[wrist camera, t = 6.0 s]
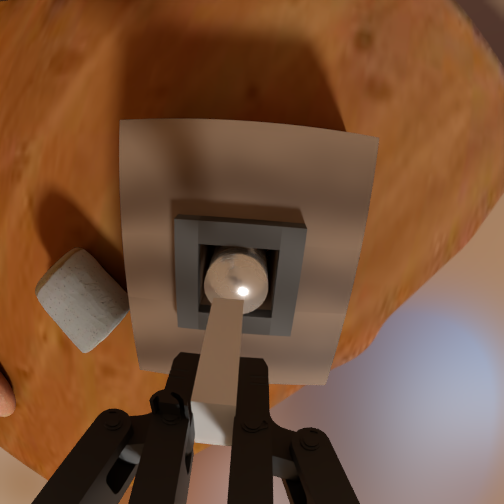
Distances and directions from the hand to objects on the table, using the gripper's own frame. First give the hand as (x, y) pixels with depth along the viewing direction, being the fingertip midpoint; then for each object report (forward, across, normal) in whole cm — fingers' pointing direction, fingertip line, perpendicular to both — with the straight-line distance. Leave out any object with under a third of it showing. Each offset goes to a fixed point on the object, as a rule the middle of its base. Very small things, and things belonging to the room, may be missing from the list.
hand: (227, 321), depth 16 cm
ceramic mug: (+14, -16, -8) cm, 23 cm away
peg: (+13, 0, -1) cm, 13 cm away
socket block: (+14, 0, -1) cm, 14 cm away
